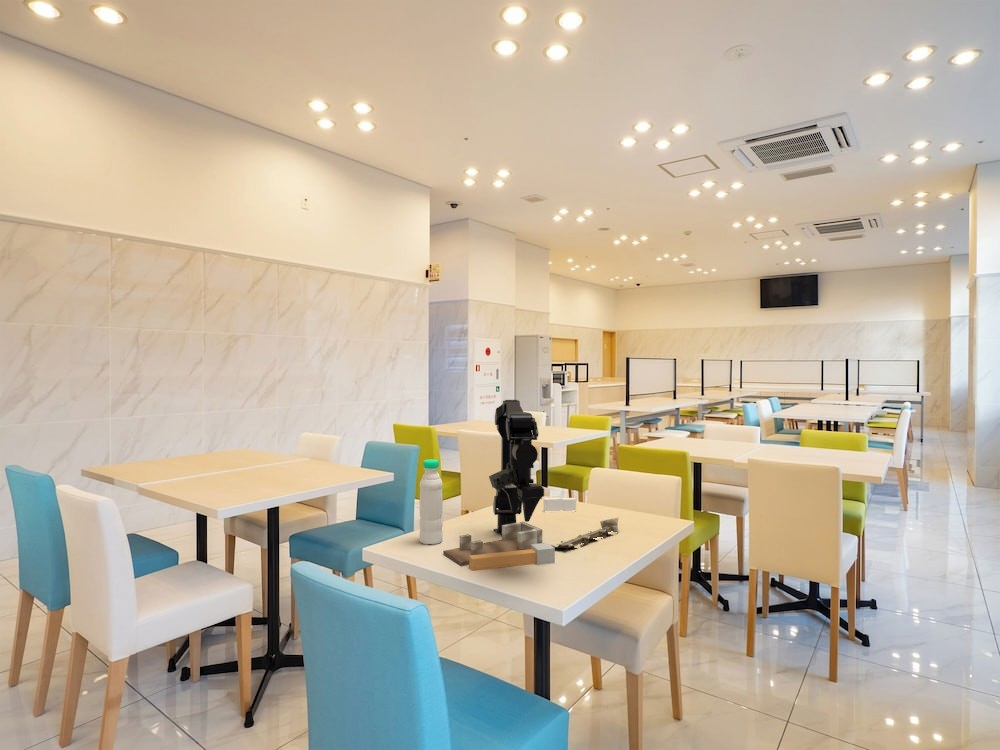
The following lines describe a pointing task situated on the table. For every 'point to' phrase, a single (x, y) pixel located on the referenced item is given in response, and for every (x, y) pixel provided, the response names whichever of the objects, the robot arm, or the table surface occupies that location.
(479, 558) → the tan bar grey block
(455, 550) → the cable board
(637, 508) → the table surface
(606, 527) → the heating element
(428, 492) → the water bottle
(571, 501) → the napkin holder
